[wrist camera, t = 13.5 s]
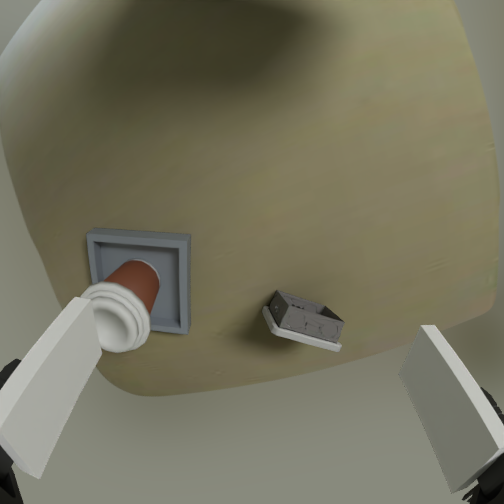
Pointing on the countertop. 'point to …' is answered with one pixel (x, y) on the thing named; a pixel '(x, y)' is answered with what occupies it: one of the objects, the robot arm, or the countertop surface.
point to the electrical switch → (303, 321)
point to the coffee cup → (124, 305)
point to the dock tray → (161, 257)
